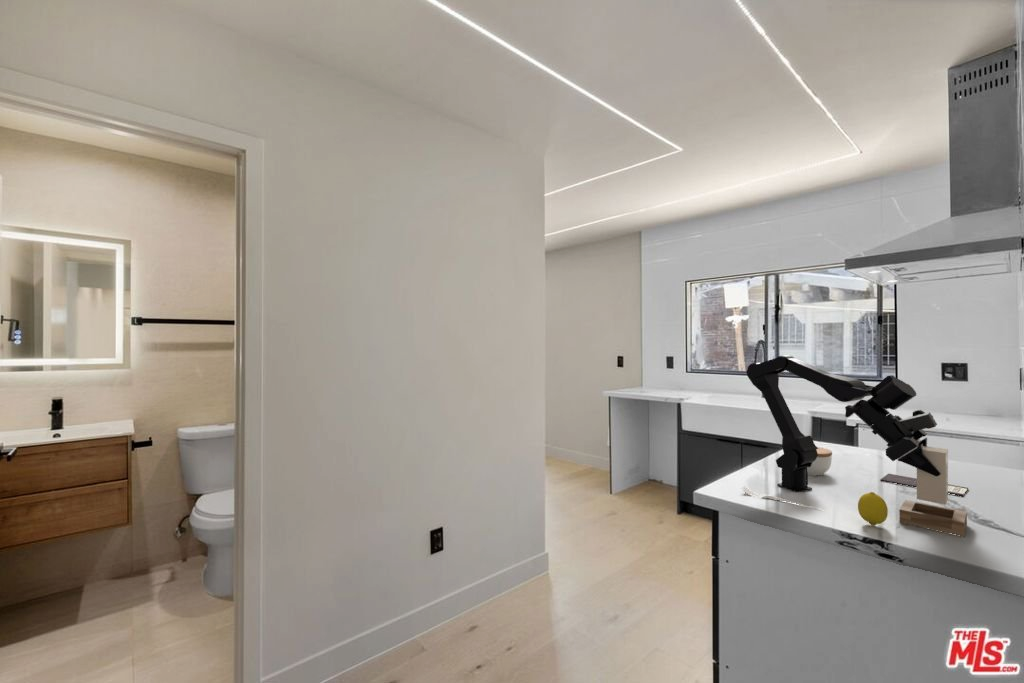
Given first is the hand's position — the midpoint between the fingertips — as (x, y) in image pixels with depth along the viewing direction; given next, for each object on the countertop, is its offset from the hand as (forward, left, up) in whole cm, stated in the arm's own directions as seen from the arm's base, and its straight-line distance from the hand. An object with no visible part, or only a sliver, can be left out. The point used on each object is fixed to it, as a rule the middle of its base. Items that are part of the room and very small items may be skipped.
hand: (940, 472), depth 106 cm
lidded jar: (+9, +40, -13) cm, 43 cm away
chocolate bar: (+28, +20, -13) cm, 37 cm away
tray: (-1, +1, -12) cm, 13 cm away
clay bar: (-1, +1, -7) cm, 7 cm away
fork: (-21, +25, -13) cm, 35 cm away
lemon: (-15, +5, -13) cm, 20 cm away
